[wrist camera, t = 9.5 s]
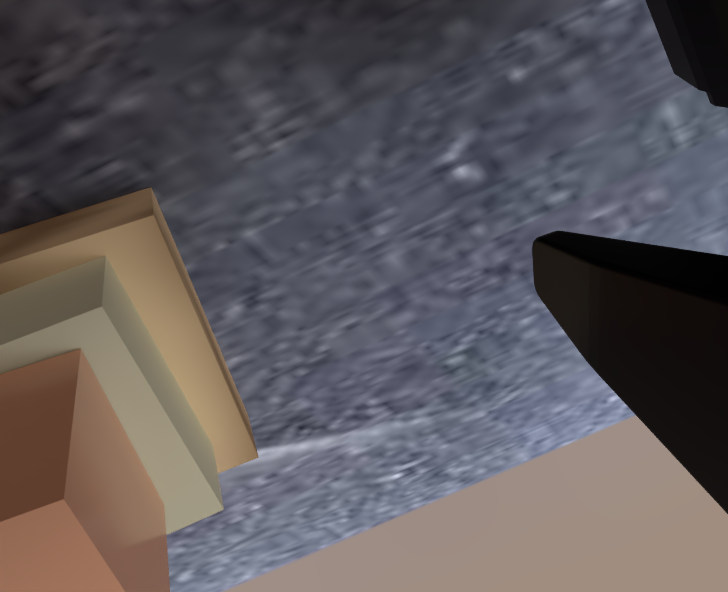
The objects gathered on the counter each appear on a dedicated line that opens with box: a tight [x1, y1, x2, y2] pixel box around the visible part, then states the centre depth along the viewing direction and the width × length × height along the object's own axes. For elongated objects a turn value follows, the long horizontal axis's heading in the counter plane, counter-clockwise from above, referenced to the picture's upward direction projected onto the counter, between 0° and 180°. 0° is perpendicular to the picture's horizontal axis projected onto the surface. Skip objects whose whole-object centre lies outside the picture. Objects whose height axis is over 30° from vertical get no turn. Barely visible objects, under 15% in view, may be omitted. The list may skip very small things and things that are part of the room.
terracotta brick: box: [0, 348, 170, 592], centre depth 14 cm, size 4×6×5 cm
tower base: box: [0, 187, 258, 473], centre depth 20 cm, size 10×10×3 cm
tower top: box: [0, 255, 224, 535], centre depth 18 cm, size 8×8×3 cm
